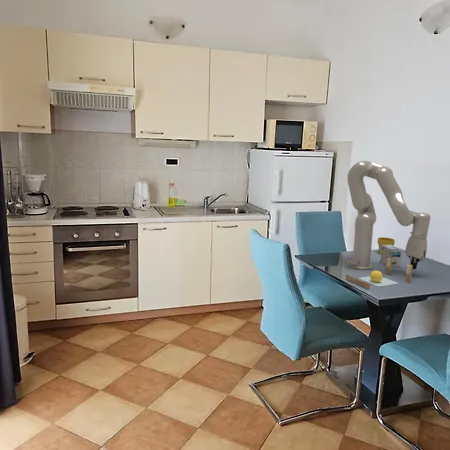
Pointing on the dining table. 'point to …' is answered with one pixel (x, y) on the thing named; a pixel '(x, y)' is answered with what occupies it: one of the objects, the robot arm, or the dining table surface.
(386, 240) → the plant pot
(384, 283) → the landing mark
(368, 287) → the stopper wall
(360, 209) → the robot arm
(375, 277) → the ball
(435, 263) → the dining table surface
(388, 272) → the post left
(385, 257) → the light bulb box
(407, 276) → the post right
